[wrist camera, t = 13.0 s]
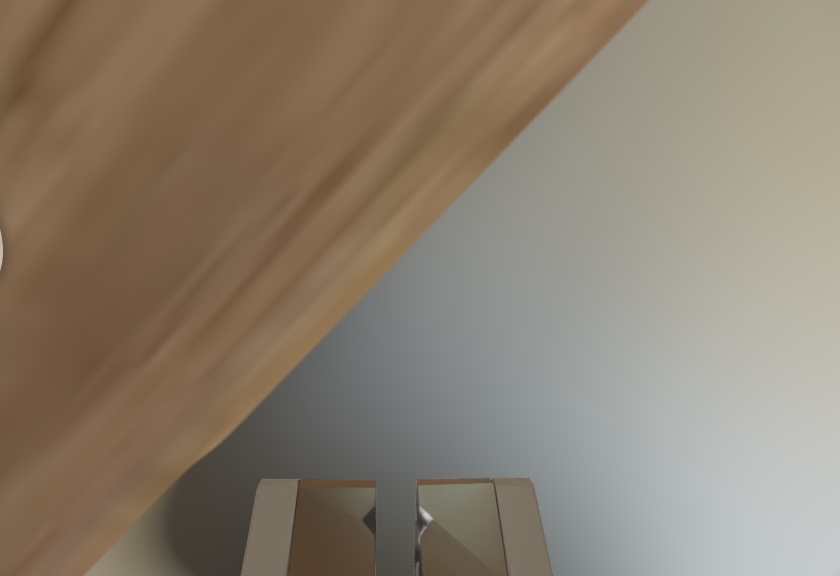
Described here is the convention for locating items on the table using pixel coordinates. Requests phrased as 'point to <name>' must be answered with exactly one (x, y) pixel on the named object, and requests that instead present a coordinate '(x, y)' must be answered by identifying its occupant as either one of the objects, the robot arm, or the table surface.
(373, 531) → the robot arm
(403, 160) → the table surface
